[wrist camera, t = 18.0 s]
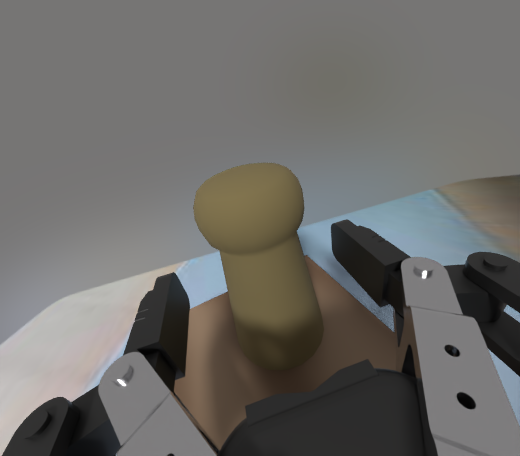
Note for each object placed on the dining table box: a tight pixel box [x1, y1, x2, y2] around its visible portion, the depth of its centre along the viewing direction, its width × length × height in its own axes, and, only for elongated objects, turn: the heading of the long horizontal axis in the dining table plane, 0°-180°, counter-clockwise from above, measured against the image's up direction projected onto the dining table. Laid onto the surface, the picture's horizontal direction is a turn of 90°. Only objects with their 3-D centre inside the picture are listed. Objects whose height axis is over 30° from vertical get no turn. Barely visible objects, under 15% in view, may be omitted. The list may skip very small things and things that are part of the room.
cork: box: [193, 163, 324, 370], centre depth 12 cm, size 6×6×11 cm
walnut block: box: [174, 255, 396, 449], centre depth 14 cm, size 14×16×6 cm
